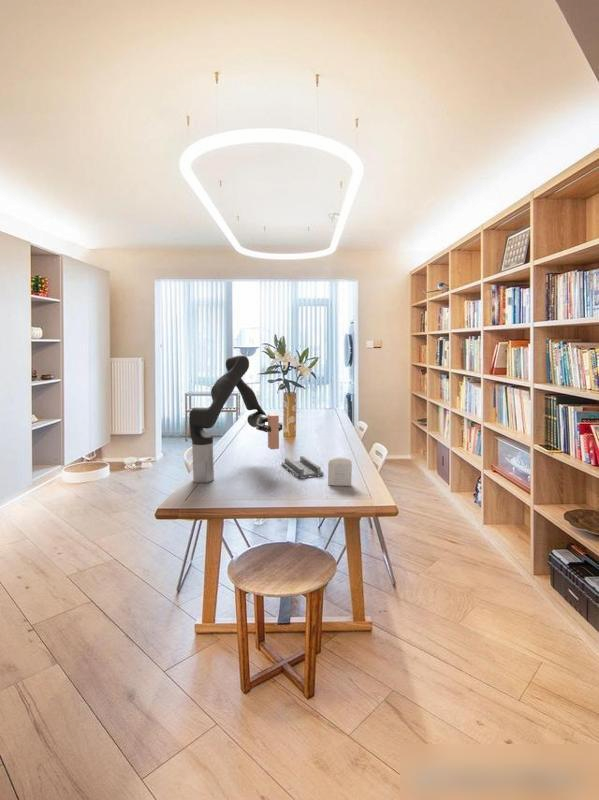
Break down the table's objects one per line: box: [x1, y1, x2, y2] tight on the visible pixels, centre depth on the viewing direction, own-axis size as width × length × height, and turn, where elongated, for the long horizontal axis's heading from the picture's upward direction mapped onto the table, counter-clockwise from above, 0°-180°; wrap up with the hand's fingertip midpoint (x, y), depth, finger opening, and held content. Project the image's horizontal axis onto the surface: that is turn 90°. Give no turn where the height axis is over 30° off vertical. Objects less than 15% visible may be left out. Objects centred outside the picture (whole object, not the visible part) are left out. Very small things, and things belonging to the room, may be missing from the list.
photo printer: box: [327, 456, 353, 487], centre depth 182 cm, size 10×4×12 cm, turn 85°
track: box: [281, 455, 324, 479], centre depth 205 cm, size 24×13×4 cm, turn 20°
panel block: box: [267, 413, 280, 450], centre depth 198 cm, size 4×5×16 cm
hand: (275, 429), depth 196 cm, fingers closed on panel block, 4 cm apart
